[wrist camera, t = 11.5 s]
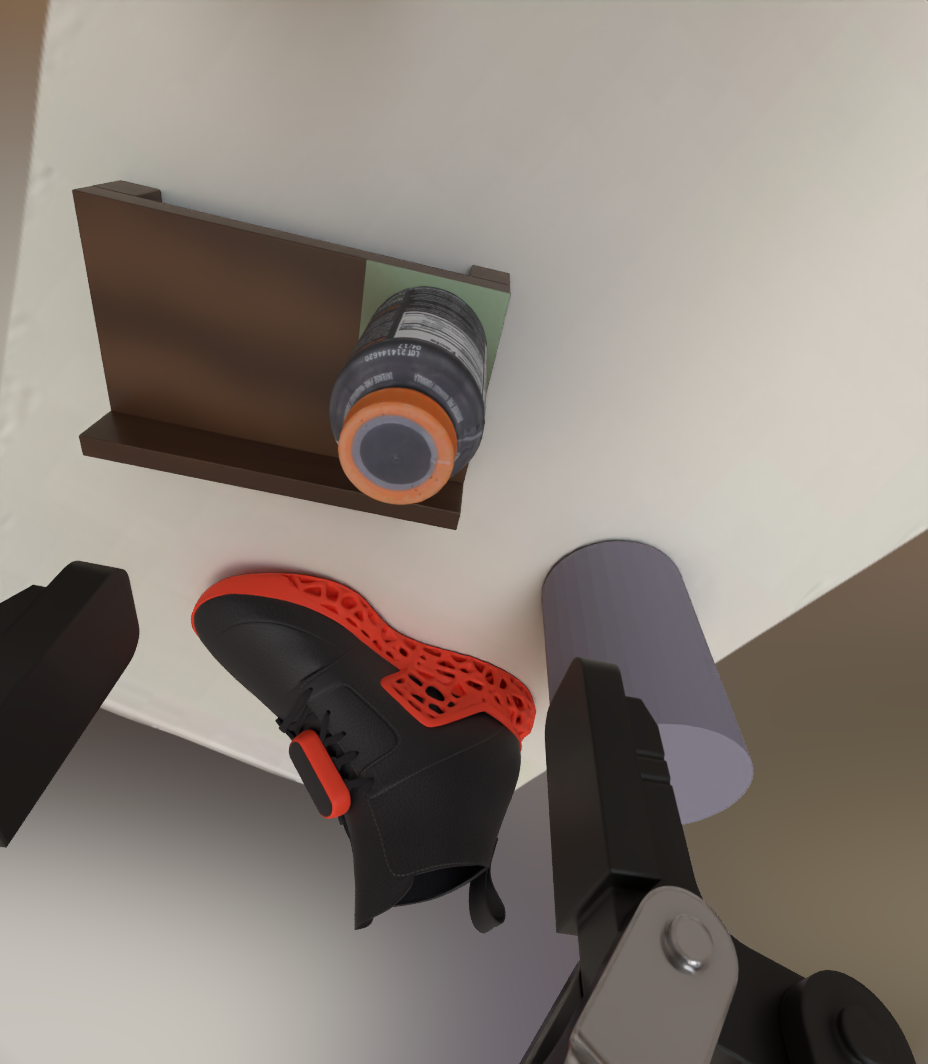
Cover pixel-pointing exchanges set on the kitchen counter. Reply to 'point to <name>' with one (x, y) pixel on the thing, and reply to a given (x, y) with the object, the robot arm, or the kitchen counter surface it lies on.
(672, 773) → the purple-gray cylinder
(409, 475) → the pill bottle
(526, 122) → the kitchen counter surface
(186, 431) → the shelf
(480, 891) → the high-top sneaker
